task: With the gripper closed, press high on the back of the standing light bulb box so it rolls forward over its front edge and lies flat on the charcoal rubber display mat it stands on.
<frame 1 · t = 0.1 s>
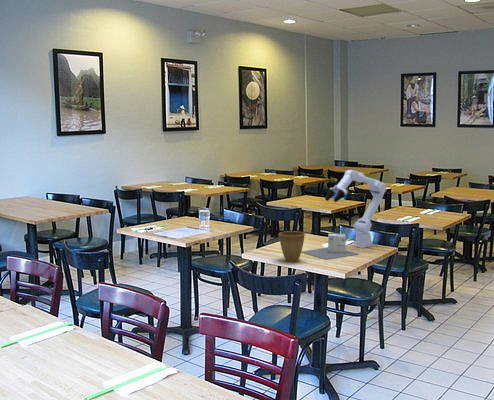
hand: (330, 200, 353), 32 cm above the table, tool tilted 50°, fingers open, 7 cm apart
plant pot: (291, 260, 333), on the table
display mat: (329, 253, 352), on the table
light bulb box: (336, 251, 355), resting on display mat
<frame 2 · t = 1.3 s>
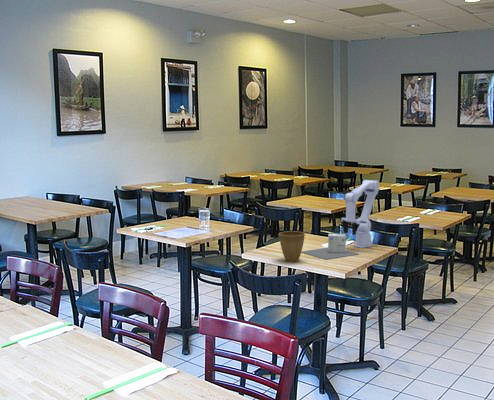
hand: (349, 233, 359), 10 cm above the table, tool pointing down, fingers open, 7 cm apart
nothing on the table moved.
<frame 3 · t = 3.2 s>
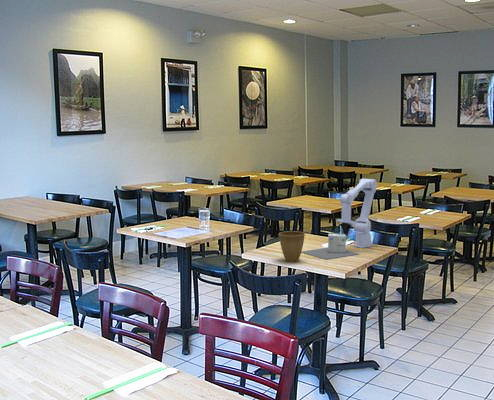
hand: (345, 235, 358), 10 cm above the table, tool pointing down, fingers closed
light bulb box: (336, 251, 355), resting on display mat, touching gripper
everything else where it was.
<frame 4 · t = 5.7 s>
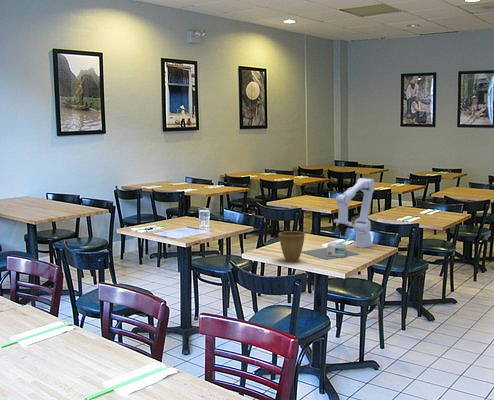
hand: (342, 235, 356), 10 cm above the table, tool pointing down, fingers closed
light bulb box: (337, 247, 351), point 4 cm above the table, touching display mat
everything else where it was.
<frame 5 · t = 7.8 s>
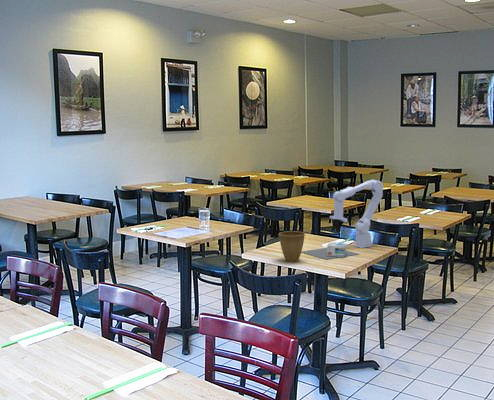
hand: (338, 231, 367), 10 cm above the table, tool pointing down, fingers closed
nothing on the table moved.
at the end: light bulb box tilted 89°; light bulb box inside the target area (3.5 cm from its centre), point 3.6 cm above the table; light bulb box touching display mat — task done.
